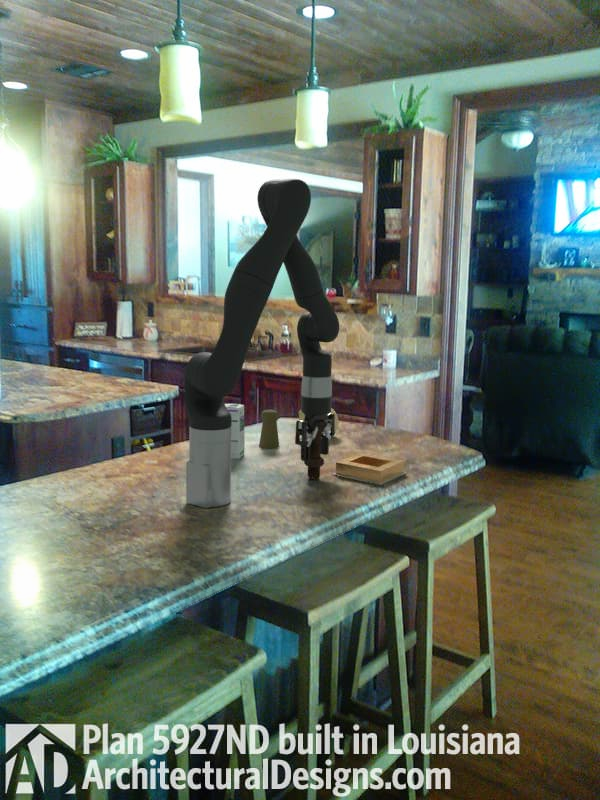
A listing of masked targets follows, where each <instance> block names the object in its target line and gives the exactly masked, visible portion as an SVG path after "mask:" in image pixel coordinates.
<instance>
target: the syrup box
mask: <svg viewBox="0 0 600 800" xmlns="http://www.w3.org/2000/svg"><path fill="white" fill-rule="evenodd" d="M224 404H225V406H226V408H227V410H228V411H229V412H230V414H231V418H232V425H231V460H240V459H241V458H242V457H243V456H244V455H245V405H244V404H241V403H224Z"/></svg>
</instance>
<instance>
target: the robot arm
mask: <svg viewBox="0 0 600 800" xmlns="http://www.w3.org/2000/svg"><path fill="white" fill-rule="evenodd" d="M311 194H312V193H311V190H310V187H309V185H308V184H307V182H305V181H304V180H302V179H299V178H279V179H277V178H276V179H269V180H267V181H265V182H264V183H263V184H262V185H261V186H260V187H259V189H258V192H257V197H256V198H257V199H256V200H257V205H258V209H259V212H260V215H261V217H262V219H263V221H264V223H265V226H266V228H265V230H264V232H263V234H262V235H261V236H260V237H259V239H257V241H256V242H255V243H254V244H253V245H252V246H251V247H250V248H249V249H248V251H246V252H245V254H244V255H243V256H242V257H241V258H240V259H239V260H238V262H237V264H236V266H235V268H234V270H233V273H232V274H231V277H230V279H229V282H228V283H227V284H228V285H227V287H226V290H225V292H224V299H223V322H222V329H221V333H220V335H219V338H218V340H217V341H216V344H215V346H214V349H213V351H212V352H209V351H207V352H205V351H203V352H198V353H196V354H194V355H193V356H192V357H191V358H190V359H189V361H188V362H187V364H186V367H185V371H184V395H185V396H184V398H185V402H184V403H185V411H186V414H187V417H188V420H189V421H188V423H189V424H188V425H189V429H188V430H189V433H188V434H189V445H188V446H189V450H188V451H189V454H188V455H189V460H188V461H186V463H185V465H186V466H185V471H186V472H185V475H186V477H185V478H186V479H185V480H186V482H185V484H186V485H185V486H186V487H185V489H186V491H185V493H186V494H185V497H186V499H185V502H186V504H188V505H193V506H195V507H196V506H197V507H201V508H203V509H209V508H217V507H221V506H225V505H228V504H230V502H231V501H232V500H231V499H232V498H231V497H232V495H231V494H232V491H231V490H232V484H231V483H232V459H231V425H232V418H231V414H230V412H229V411H228V410H227V408H226V406H225V404H226V403H225V402H224V398H225V397H228V396H229V395H230V394H231V393H232V392H233V391H234V390H235V388H236V386H237V384H238V382H239V380H240V377H241V373H242V370H243V366H244V364H245V361H246V360H245V359H246V357H247V353H248V349H249V347H250V345H251V341H252V339H253V337H254V334H255V332H256V329H257V325H258V324H259V321H260V319H261V316H262V314H263V311H264V309H265V307H266V305H267V303H268V300H269V298H270V295H271V293H272V290H273V288H274V285H275V282H276V280H277V278H278V275H279V273H280V271H281V268H282V266H283V264H284V268H285V270H286V273H287V276H288V279H289V282H290V287H291V289H292V293H293V296H294V300H295V302H296V305H297V306H298V307H299V308H302V309H304V310H306V311H307V312H304V313H303V314H301V316H300V317H299V319H298V322H297V325H296V334H297V339H298V343H299V347H300V352H301V357H302V379H301V380H302V381H301V395H300V397H301V398H300V402H301V403H300V410H301V411H302V413H304V414H305V418H304V421H300V420H299V419H297V420H296V422H295V423H296V424H295V437H294V438H295V439H294V444H295V445H298V446H300V460H301V461H303V462H304V461H306V462H307V461H310V447H309V446H310V444H311V442H312V440H313V439H314V438H315V436H316V434H317V431H318V429H317V428H318V424H317V425H315V427H314V423H315V422H318V421H326V422H327V427H325V428H322V434H321V453H320V454H321V455H324V456H326V455H328V454H329V450H330V448H329V447H330V440H331V438H332V437H334V436H335V434H336V433H335V415H334V414H332V413H330V412H331V408H332V403H333V402H332V399H333V397H332V396H333V380H332V367H333V366H332V364H333V363H332V360H333V359H332V355H331V354H330V353H329V352H327V351H325V350H323V349H322V347H321V344H320V343H331V342H333V341H335V340H336V339H337V338H338V336H339V333H340V321H339V318H338V315H337V314H336V312H335V310H334V308H333V306H332V304H331V302H330V301H329V299H328V298H327V296H326V294H325V292H324V288H323V284H322V281H321V277H320V273H319V271H318V268H317V266H316V264H315V261H314V260H313V259H312V257H311V255H310V254H309V252H308V251H307V250H306V249H305V247H304V245H303V244H302V242H301V240H300V238H299V237H298V236H297V235H298V232H299V230H301V227H302V225H303V223H304V222H305V219H306V218H307V215H308V213H309V211H310V208H311V202H312V195H311ZM318 423H319V422H318ZM308 426H309V428H308ZM328 427H330V428H331V431H330V430H329V428H328ZM307 432H308V433H309V434H307ZM300 436H301V437H300ZM331 436H332V437H331Z"/></svg>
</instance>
